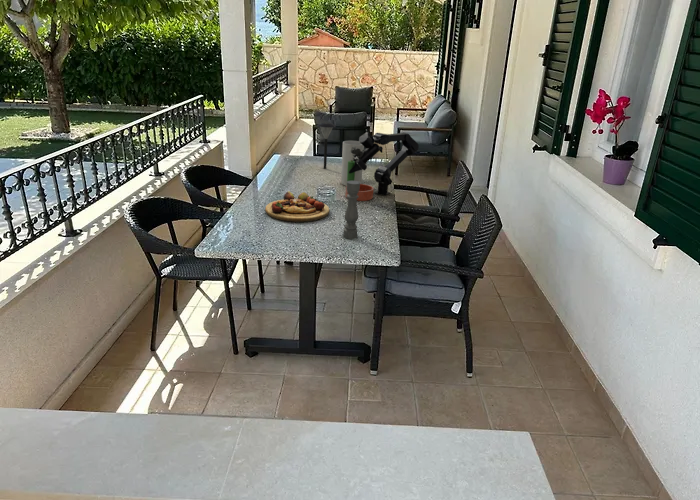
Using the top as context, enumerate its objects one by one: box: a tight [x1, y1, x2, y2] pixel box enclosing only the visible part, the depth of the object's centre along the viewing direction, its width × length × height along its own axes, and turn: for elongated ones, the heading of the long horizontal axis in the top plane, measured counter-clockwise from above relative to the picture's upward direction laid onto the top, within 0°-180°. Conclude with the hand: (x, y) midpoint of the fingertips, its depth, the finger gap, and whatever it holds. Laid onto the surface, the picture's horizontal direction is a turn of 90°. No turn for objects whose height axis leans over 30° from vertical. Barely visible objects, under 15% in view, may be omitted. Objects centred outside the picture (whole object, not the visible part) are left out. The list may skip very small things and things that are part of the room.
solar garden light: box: [316, 121, 336, 170], centre depth 332 cm, size 12×12×30 cm
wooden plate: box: [264, 190, 330, 222], centre depth 252 cm, size 32×32×8 cm
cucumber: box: [347, 160, 355, 181], centre depth 280 cm, size 4×4×13 cm
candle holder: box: [342, 181, 360, 240], centre depth 222 cm, size 6×6×25 cm
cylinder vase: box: [340, 140, 365, 187], centre depth 302 cm, size 12×12×25 cm
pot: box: [344, 183, 375, 202], centre depth 282 cm, size 16×16×6 cm
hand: (348, 171), depth 279 cm, fingers closed on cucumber, 4 cm apart
